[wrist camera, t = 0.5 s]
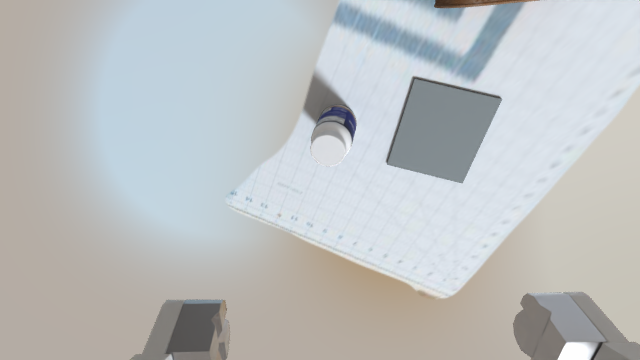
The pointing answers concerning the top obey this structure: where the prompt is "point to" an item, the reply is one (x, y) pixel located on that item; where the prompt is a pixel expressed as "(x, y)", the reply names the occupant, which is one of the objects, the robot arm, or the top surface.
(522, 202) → the top surface
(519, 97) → the top surface
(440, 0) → the tin
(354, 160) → the top surface
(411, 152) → the mat
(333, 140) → the pill bottle
